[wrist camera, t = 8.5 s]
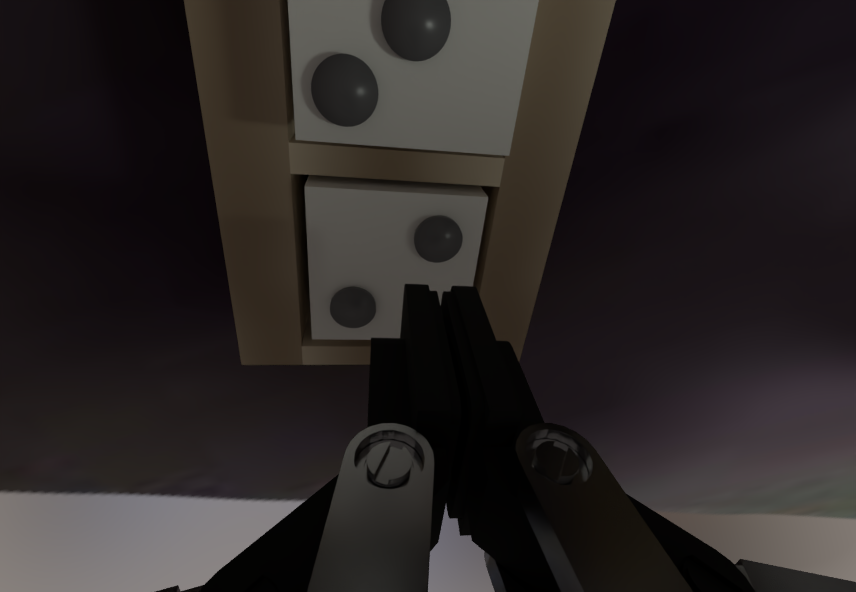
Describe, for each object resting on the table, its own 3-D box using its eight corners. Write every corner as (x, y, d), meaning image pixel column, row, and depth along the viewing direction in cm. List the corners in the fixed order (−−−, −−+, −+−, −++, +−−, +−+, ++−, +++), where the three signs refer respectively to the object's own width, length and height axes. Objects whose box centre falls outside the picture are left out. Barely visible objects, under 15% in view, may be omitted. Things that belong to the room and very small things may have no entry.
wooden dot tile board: (696, -589, 8) (848, -874, 6) (497, 318, 19) (518, 364, 16) (123, -809, 7) (-30, -1343, 4) (260, 315, 17) (241, 365, 15)
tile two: (467, 168, 15) (490, 199, 12) (448, 294, 17) (464, 343, 14) (315, 157, 14) (303, 188, 11) (320, 291, 16) (311, 343, 14)
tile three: (514, -85, 10) (566, -127, 8) (481, 131, 13) (511, 158, 10) (301, -121, 10) (275, -180, 7) (310, 117, 12) (294, 141, 9)
